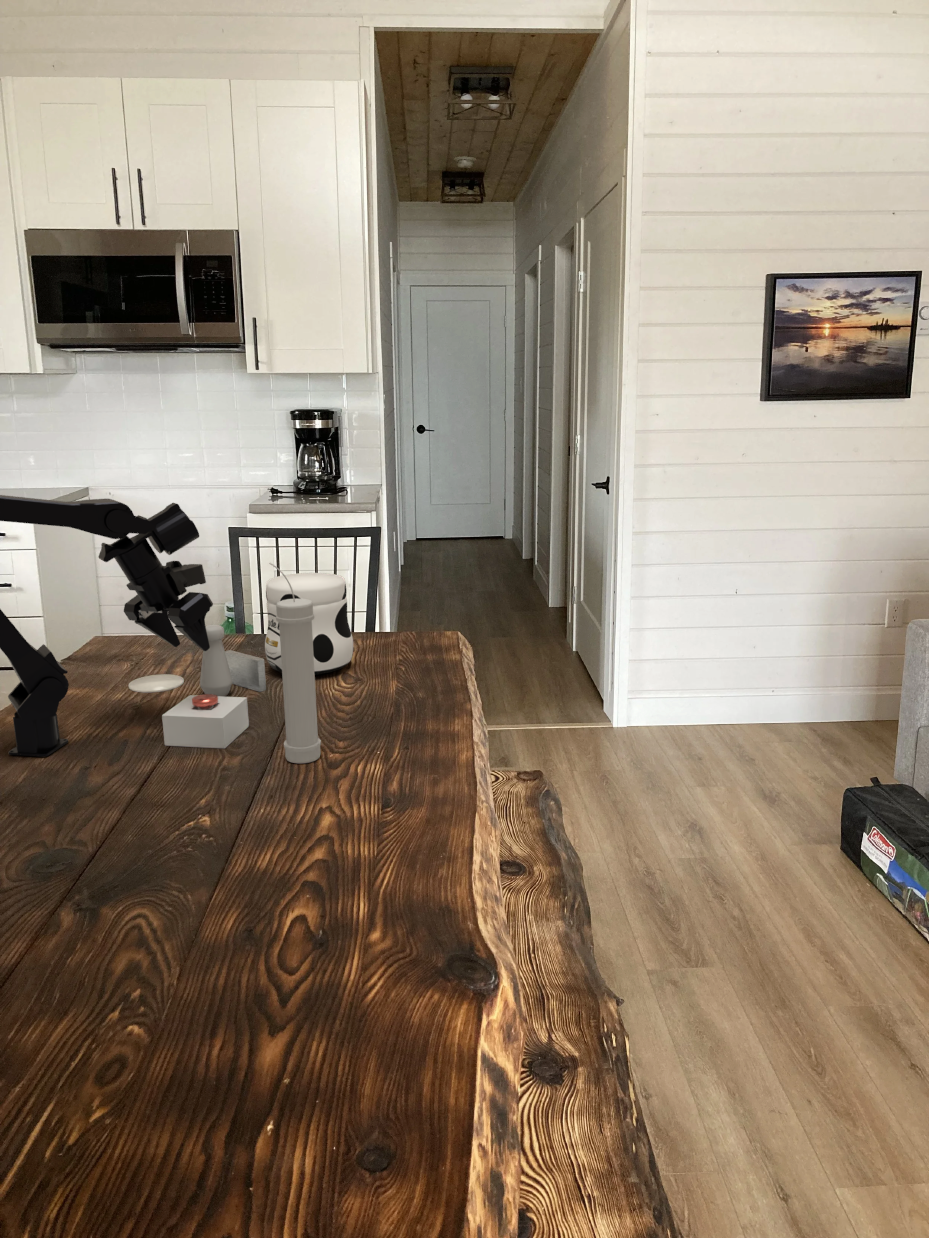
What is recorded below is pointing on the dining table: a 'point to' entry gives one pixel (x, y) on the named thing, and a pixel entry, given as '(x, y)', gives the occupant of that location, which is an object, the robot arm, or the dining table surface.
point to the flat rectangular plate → (246, 670)
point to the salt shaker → (215, 664)
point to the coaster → (156, 683)
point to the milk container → (326, 626)
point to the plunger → (205, 701)
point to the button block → (205, 723)
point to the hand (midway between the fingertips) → (192, 647)
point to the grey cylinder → (298, 679)
